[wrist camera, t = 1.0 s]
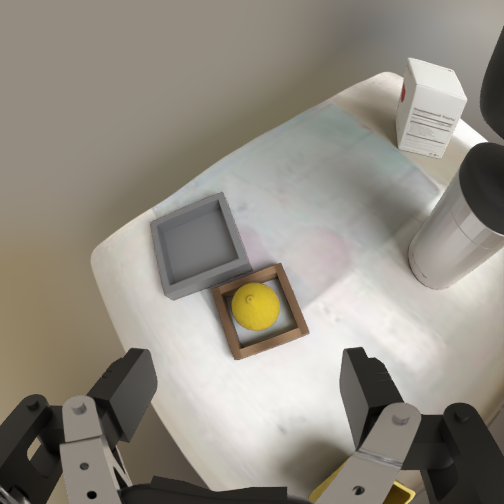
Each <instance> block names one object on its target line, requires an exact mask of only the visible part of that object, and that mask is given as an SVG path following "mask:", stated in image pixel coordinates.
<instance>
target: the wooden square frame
mask: <svg viewBox="0 0 504 504" xmlns="http://www.w3.org/2000/svg"><path fill="white" fill-rule="evenodd" d="M277 277H278V279H279V281H280V284H281V286H282V289H283V291H284V294H285V296H286V299H287V301H288V304H289V306H290V309H291V311H292V314H293V316H294V319H295V321H296V324H297V326H298V328H296V329H294V330H291V331H288V332H286V333H283V334H281V335H278V336H275V337H273V338H270V339H267V340H265V341H262V342H259V343H257V344H254V345H251V346H248V347H245V348H242V347H241V344H240V341H239V338H238V335H237V332H236V329H235V326H234V323H233V321H232V318H231V315H230V312H229V309H228V306H227V302H226V299H225V297H227V296H230V295H233V294H235V293H236V292H237V290H238V289H239V288H241V287H242V286H243V285H246V284H248V283H264V282H266V281H269V280H272V279H274V278H277ZM212 292H213V295H214V299H215V302H216V305H217V308H218V311H219V314H220V318H221V321H222V324H223V327H224V330H225V333H226V336H227V339H228V342H229V345H230V348H231V351H232V354H233V357H234V360H240V359H243V358H246V357H249V356H252V355H255V354H257V353H260V352H263V351H266V350H268V349H271V348H274V347H277V346H279V345H282V344H284V343H287V342H290V341H292V340H295V339H297V338H300V337H302V336H305V335H307V334H309V330H308V327H307V325H306V322H305V320H304V317H303V315H302V312H301V310H300V307H299V305H298V302H297V300H296V298H295V295H294V293H293V290H292V288H291V285H290V283H289V281H288V278H287V276H286V273H285V271H284V269H283V266H282V264H281V263H279V264H276V265H274V266H271V267H268V268H266V269H263V270H261V271H258V272H256V273H253V274H250V275H248V276H245V277H243V278H240V279H238V280H235V281H232V282H230V283H227V284H225V285H222V286H219V287H217V288H214V289H212Z"/></svg>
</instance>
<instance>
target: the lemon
mask: <svg viewBox="0 0 504 504" xmlns="http://www.w3.org/2000/svg"><path fill="white" fill-rule="evenodd" d="M232 312H233V315H234V317H235V319H236V320H237V322H238V323H239V324H240V325H241V326H243V327H244V328H246V329H248V330H253V331H260V330H264V329H266V328H268V327H270V326H271V325H272V324H273V323H274V322H275V321H276V319H277V318H278V315H279V312H280V304H279V299H278V297H277V295H276V293H275V292H274V291H273V290H272V289H271V288H270V287H268V286H266V285H264V284H261V283H248V284H246V285H243V286H242V287H241V288H239V289H238V290H237V292H236V293H235V295H234V297H233V300H232Z"/></svg>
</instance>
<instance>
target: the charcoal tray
mask: <svg viewBox="0 0 504 504" xmlns="http://www.w3.org/2000/svg"><path fill="white" fill-rule="evenodd" d="M150 225H151V231H152V237H153V242H154V247H155V252H156V257H157V262H158V267H159V272H160V276H161V281H162V285H163V290H164V294H165V296H167V297H169V298H170V299H172V300H176V299H179V298H182V297H184V296H187V295H190V294H192V293H195V292H198V291H200V290H203V289H206V288H208V287H211V286H213V285H216V284H219V283H221V282H224V281H227V280H229V279H232V278H234V277H237V276H239V275H242V274H245V273H247V272H250V271H252V267H251V264H250V262H249V259H248V256H247V254H246V251H245V248H244V245H243V243H242V240H241V237H240V235H239V232H238V229H237V227H236V224H235V221H234V219H233V216H232V213H231V211H230V208H229V205H228V202H227V200H226V198H225V196H224V193H223V192H220V193H218V194H215V195H213V196H210V197H208V198H206V199H203V200H201V201H198V202H196V203H194V204H191V205H189V206H186V207H184V208H182V209H179V210H177V211H175V212H173V213H170V214H168V215H166V216H163V217H161V218H159V219H157V220H154V221H152V222H150Z"/></svg>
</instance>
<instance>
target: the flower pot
mask: <svg viewBox="0 0 504 504" xmlns="http://www.w3.org/2000/svg"><path fill="white" fill-rule="evenodd" d="M349 458H350V457H349ZM349 458H348V459H349ZM348 459H347V460H346V461H345V462H344V463H343V464H342V465H341V466H340V467H339V468H338V469H337V470H336V471H335V472H334V473H333V474H332V475H331V476H329V477H328V478H327V479H326V480H325V481H324V482H323V483H321V484H320V485H319V486H318V487H317V488H316V489H315V490H314V491H313V492H312V493H311V494H310V496H309V498H308V500H310V501H312V502H314V503H315V502H316V501H317V500H318V498H319V497H320V496H321V495H322V494H323V492H324V491H325V490H326V489H327V487H328V486H329V485H330V484H331V482H332V481H333V480H334V478H335V477H336V476H337V474H338V473H339V472H340V470H341V469H342V468H343V466H344V465H345V463H346V462H347V461H348ZM414 496H415V492H414V491H412V490H411V489H409V488H408V487H406V486H405V485H403V484H402V483H401V482H399V481H398V480H395V481H394V483H393V485H392V487H391V489H390V491H389V493H388V494H387V496H386V498H385V500H384V501H383V503H382V504H408V503H409V502H410V501H411V500H412V498H413V497H414Z"/></svg>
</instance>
